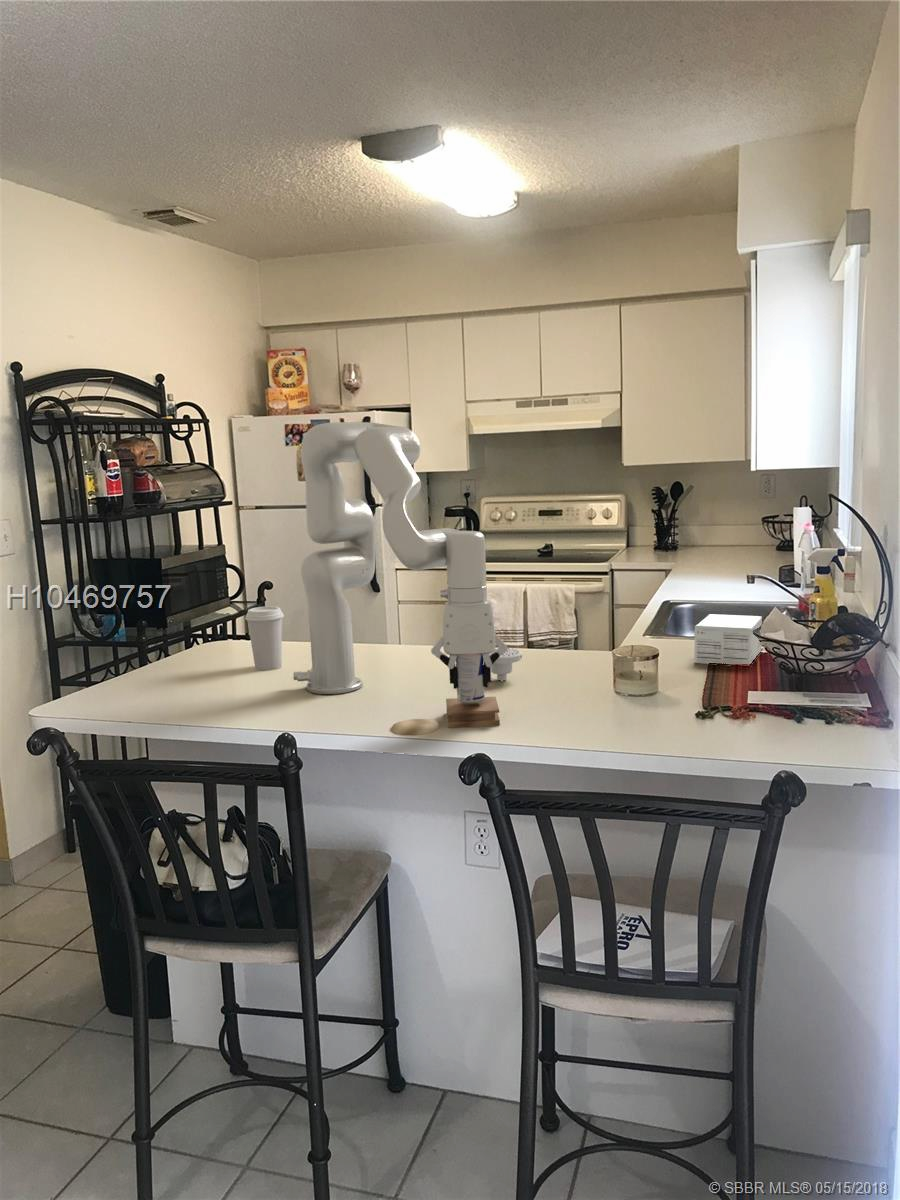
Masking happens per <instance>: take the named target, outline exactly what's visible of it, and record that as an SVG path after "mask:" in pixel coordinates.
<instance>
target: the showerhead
mask: <svg viewBox="0 0 900 1200" xmlns="http://www.w3.org/2000/svg"><path fill="white" fill-rule="evenodd" d="M507 648H508V649H507V651H505V652H504V653H503V654H502V655H501V656H500V657H499V658H498V659H497V660H496V661H495V662H494V663H493V664H492V666H491V674H492V673H493V675H494V674H495V675H496V678H497V679H496V680H506V681H507V680H508V678H507V675H509V674H511V673H512V672H513V663H517V662H520V661H521V660H522V658H523V652H522V651H520V650H518V649H514V648H510V647H507ZM497 649H498V648H495V650H494V651H496V650H497ZM494 651H493V652H494ZM493 652H492V653H493ZM492 653H489V656H490V655H491V654H492ZM484 662H485V661H484V658H483V663H484Z"/></svg>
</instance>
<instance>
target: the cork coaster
mask: <svg viewBox="0 0 900 1200" xmlns="http://www.w3.org/2000/svg"><path fill="white" fill-rule="evenodd" d="M439 728H440V727H439V723H438V722H437V721H435V720H433V719H425V718H412V719H405V720H401V721H398V722H395V723H394V724H392V725H391V730H392V732H393V733H395V734H397V735H402V736H420V735H421V736H422V735H427V734H431V733H433V732H435V731H437V730H438V729H439Z"/></svg>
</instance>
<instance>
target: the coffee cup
mask: <svg viewBox="0 0 900 1200" xmlns="http://www.w3.org/2000/svg"><path fill="white" fill-rule="evenodd" d="M284 617H285V615H284V613H283V611H282V609H281V608H280V607H279V606H274V605H273V606H269V605H268V606H257V607H252V608H249V609H248V610H247V613H246V615H245V617H244V618H245V619H244V620H245V621H247V625H248V626H247V627H248V631H249V639H250V644H251V651H252V655H253V656H252V657H253V662H254V668H255V670H256V669H257V671H272V670H273V669H274V670H277V668H278V669H280V668H282V653H283V652H282V650H283V649H282V648H283V647H282V645H283V641H282V640H283V637H282V636H283V634H282V633H283V618H284Z"/></svg>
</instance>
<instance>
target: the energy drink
mask: <svg viewBox="0 0 900 1200" xmlns="http://www.w3.org/2000/svg"><path fill="white" fill-rule="evenodd" d="M455 665H456V668H457V688H456V695H457V697H456V698H457V699H458V701H459V702H461V703H468V704H471V703H479V702H482V701H483V700H484V698H485V697H486V696H485V687H484V672H483V667H484V666H483V665H484V662H483V656H482V654H465V655H457V658H456V662H455Z"/></svg>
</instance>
